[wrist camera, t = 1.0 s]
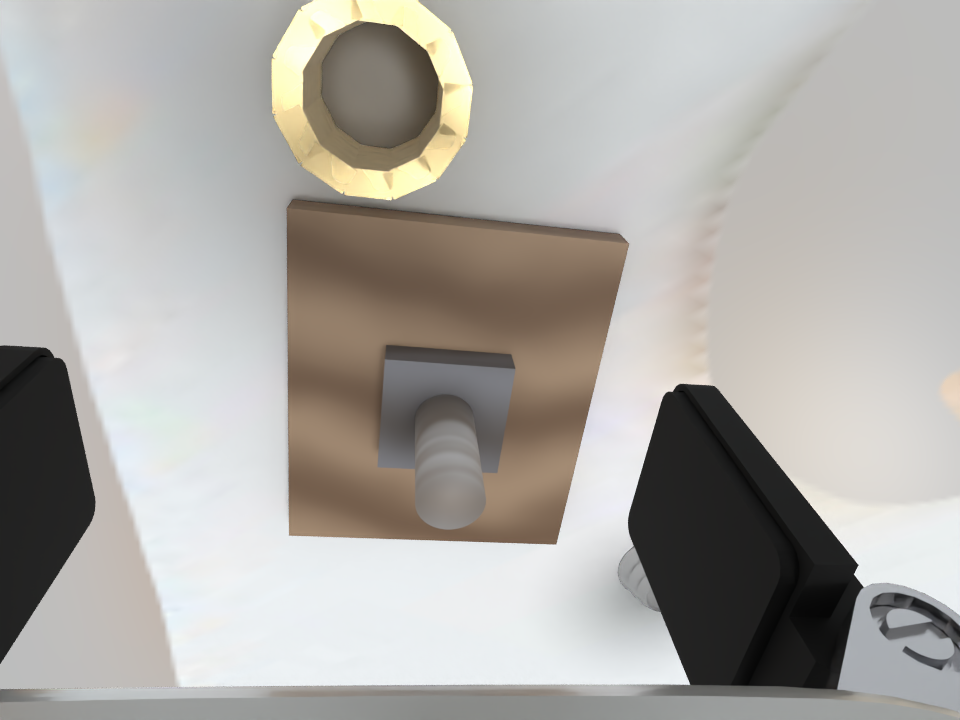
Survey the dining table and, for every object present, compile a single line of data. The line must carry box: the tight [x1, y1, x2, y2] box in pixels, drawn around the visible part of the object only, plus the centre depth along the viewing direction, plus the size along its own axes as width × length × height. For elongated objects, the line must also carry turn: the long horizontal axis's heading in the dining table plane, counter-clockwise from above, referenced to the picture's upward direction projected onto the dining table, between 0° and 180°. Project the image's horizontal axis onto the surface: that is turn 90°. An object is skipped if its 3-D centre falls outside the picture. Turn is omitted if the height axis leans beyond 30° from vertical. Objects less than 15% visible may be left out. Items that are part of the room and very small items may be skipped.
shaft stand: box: [287, 200, 629, 544], centre depth 29 cm, size 18×15×9 cm
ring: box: [272, 0, 473, 200], centre depth 24 cm, size 7×7×5 cm
